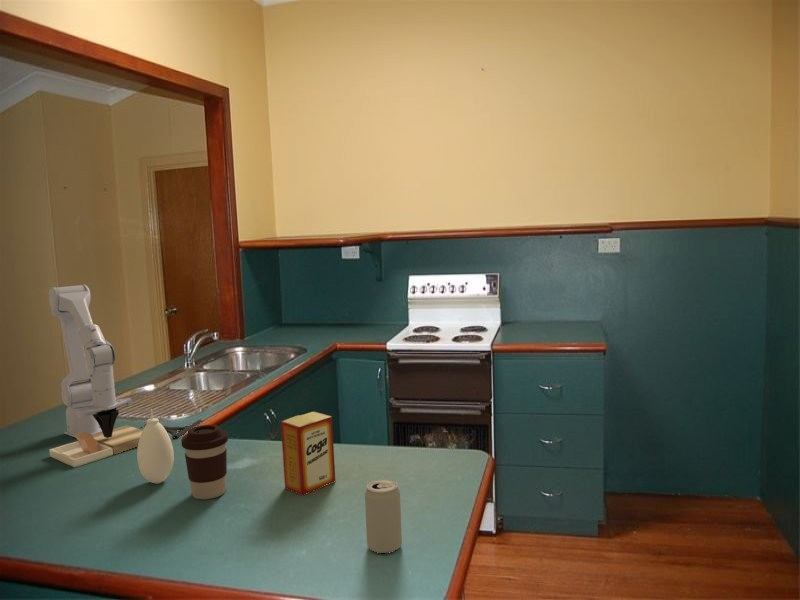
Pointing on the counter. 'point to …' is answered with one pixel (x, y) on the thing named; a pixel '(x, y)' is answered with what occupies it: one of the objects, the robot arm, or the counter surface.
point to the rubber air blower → (155, 452)
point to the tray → (79, 454)
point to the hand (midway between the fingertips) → (107, 436)
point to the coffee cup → (206, 460)
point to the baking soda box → (308, 452)
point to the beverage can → (383, 516)
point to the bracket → (184, 429)
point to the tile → (87, 442)
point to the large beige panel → (120, 439)
